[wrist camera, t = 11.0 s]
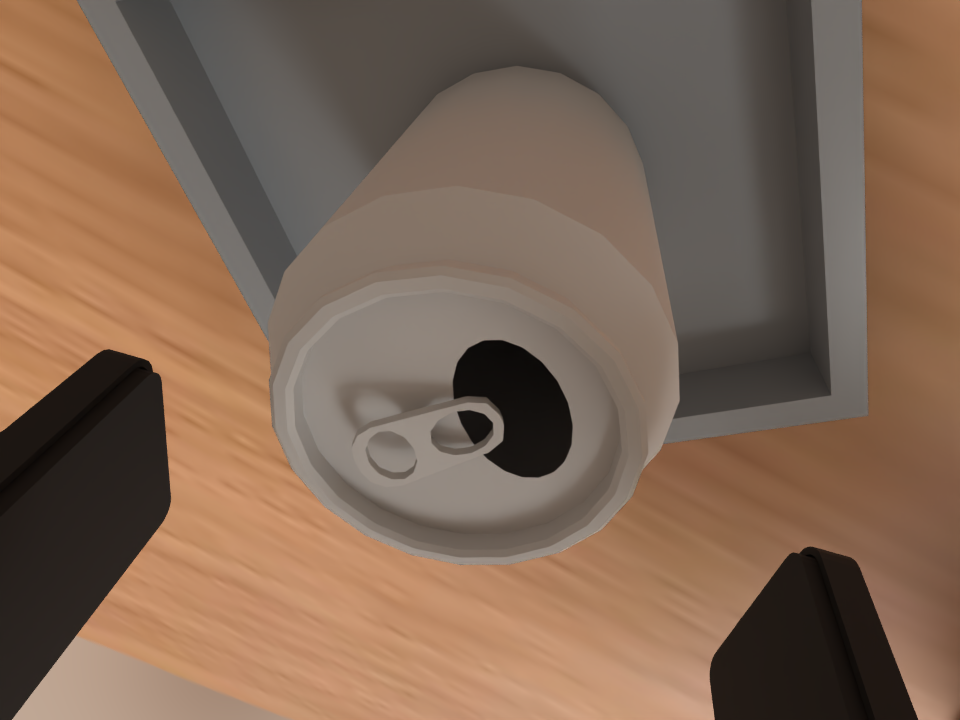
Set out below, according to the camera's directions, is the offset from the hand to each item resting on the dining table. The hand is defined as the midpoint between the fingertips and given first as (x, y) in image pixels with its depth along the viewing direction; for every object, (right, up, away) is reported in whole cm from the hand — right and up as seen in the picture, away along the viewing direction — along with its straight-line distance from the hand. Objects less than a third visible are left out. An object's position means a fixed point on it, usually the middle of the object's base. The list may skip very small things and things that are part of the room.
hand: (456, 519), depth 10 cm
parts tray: (+2, +8, +11) cm, 14 cm away
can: (+2, +8, +11) cm, 13 cm away
